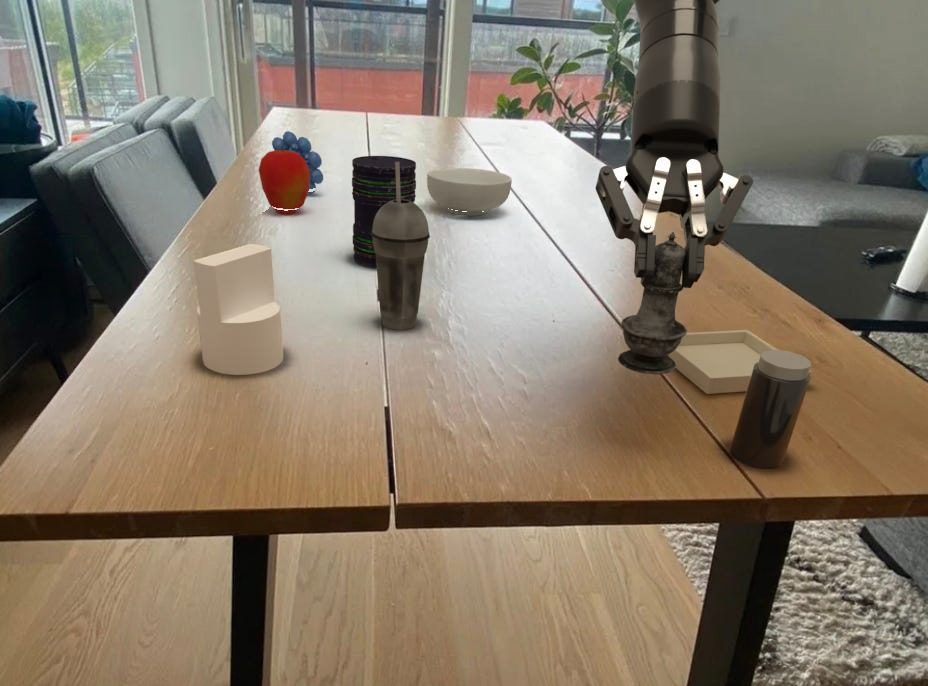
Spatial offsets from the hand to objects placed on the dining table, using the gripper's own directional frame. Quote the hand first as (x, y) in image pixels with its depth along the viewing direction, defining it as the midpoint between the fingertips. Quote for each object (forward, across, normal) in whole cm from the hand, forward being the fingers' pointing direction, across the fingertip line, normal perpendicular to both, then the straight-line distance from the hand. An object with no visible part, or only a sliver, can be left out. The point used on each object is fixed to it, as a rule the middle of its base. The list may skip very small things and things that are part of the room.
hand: (668, 281), depth 65 cm
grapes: (-57, -60, +81) cm, 115 cm away
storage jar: (-28, -34, +52) cm, 68 cm away
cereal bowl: (-54, -24, +79) cm, 99 cm away
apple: (-46, -57, +70) cm, 101 cm away
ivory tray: (-5, +14, +29) cm, 32 cm away
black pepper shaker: (+11, +12, +13) cm, 21 cm away
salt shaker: (+5, 0, +8) cm, 9 cm away
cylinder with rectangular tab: (+2, -43, +22) cm, 48 cm away
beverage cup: (-8, -28, +32) cm, 43 cm away
